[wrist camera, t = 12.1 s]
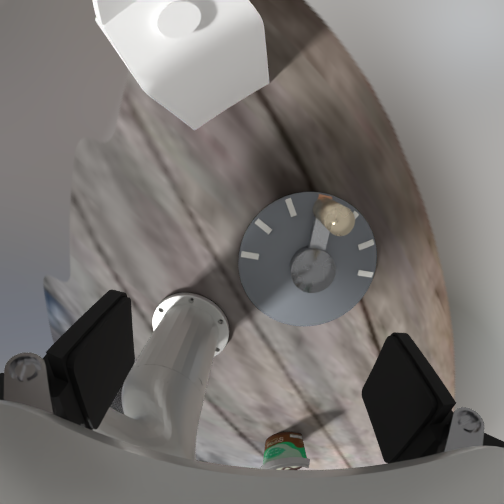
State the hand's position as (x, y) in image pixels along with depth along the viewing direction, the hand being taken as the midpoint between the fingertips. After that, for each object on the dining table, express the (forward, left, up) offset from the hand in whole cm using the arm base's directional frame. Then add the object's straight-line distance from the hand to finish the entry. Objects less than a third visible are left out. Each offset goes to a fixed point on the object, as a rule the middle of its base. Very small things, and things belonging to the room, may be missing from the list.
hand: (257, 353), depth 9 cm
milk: (+18, +10, -31) cm, 37 cm away
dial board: (-6, -8, -30) cm, 32 cm away
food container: (-48, -12, -31) cm, 58 cm away
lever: (-3, -8, -29) cm, 30 cm away
